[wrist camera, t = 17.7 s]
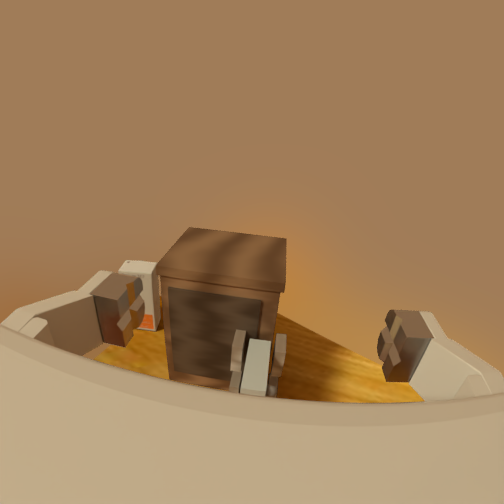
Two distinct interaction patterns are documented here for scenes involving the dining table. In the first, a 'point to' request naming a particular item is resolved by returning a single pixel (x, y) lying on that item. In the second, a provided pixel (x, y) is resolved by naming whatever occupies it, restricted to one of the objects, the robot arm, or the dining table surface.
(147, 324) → the skincare box
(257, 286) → the cabinet
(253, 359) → the door
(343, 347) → the dining table surface
